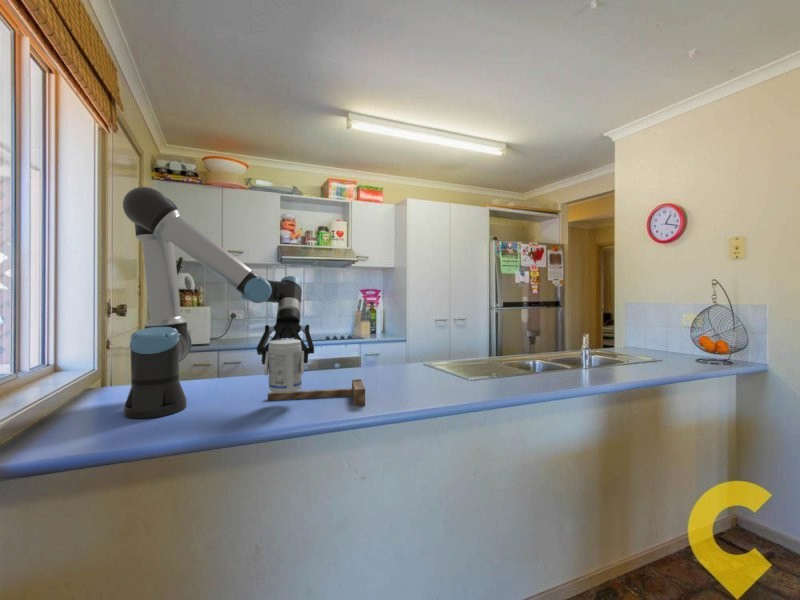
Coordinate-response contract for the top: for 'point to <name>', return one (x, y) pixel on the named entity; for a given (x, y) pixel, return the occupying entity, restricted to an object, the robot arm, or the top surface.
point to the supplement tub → (284, 365)
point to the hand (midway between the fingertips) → (284, 372)
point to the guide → (326, 393)
